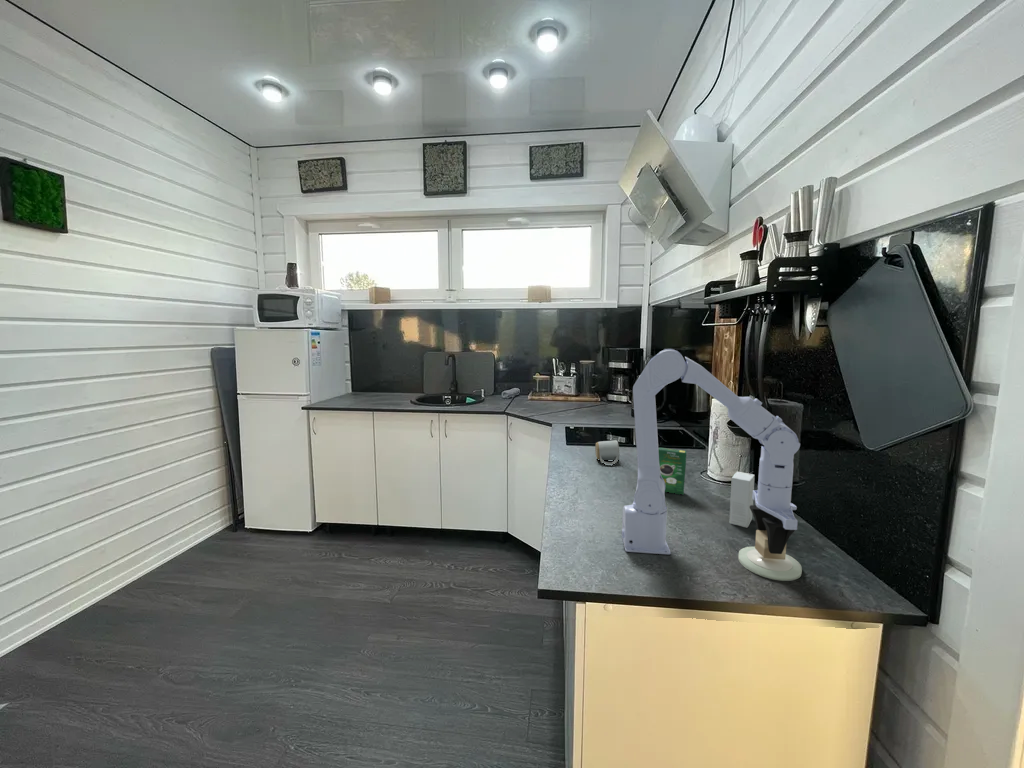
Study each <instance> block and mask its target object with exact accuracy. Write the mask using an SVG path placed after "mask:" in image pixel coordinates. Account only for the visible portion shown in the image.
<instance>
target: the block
mask: <svg viewBox="0 0 1024 768" xmlns="http://www.w3.org/2000/svg"><path fill="white" fill-rule="evenodd" d="M754 543H755V544H754V546H755V549H756V550H757V551H758V552H759V553H760V554H761V556H762V557H763V558H768V559H783V560H785V557H786V554H787V543H788V542H787V543H786V545H785V547H784V550H783V552H782V554H772V553H770V552H769V548H768V536H767V531H766V530H757V529H756V530H755V542H754Z"/></svg>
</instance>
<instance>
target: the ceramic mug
mask: <svg viewBox="0 0 1024 768" xmlns="http://www.w3.org/2000/svg"><path fill="white" fill-rule="evenodd" d="M596 457H597V459H599V460H600V461H599V462H601V463H602V462H603V463H606V464H614V463H616V464H617V462H618V461H617V460H620V445H619V441H618V440H603V441H597V442H595V458H596ZM597 459H596V460H597ZM603 460H615V461H610V462H609V461H603Z"/></svg>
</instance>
